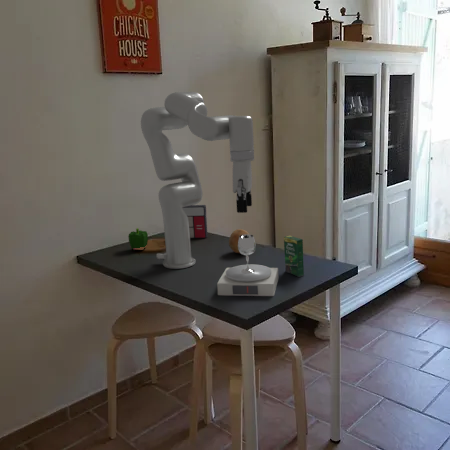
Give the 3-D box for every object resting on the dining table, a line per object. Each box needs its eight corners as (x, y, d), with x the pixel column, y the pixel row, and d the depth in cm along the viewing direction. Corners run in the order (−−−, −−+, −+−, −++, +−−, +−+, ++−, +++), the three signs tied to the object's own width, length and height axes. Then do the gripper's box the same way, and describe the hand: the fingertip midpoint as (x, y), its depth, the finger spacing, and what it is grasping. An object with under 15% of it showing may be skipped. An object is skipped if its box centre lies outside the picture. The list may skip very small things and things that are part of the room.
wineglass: (251, 275, 166) (249, 239, 163) (236, 272, 169) (234, 237, 166) (259, 269, 171) (258, 234, 168) (244, 267, 174) (243, 233, 171)
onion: (258, 252, 209) (257, 229, 207) (238, 258, 204) (237, 233, 201) (244, 248, 217) (243, 225, 214) (224, 253, 211) (223, 229, 209)
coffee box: (284, 271, 185) (283, 236, 182) (290, 269, 186) (289, 234, 183) (297, 277, 178) (296, 240, 175) (304, 275, 179) (303, 239, 176)
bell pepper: (133, 247, 229) (130, 225, 226) (151, 246, 227) (148, 225, 225) (127, 252, 221) (124, 230, 218) (145, 252, 219) (143, 229, 217)
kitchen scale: (217, 295, 165) (216, 279, 164) (227, 278, 181) (226, 263, 179) (273, 296, 161) (273, 280, 160) (278, 278, 177) (277, 263, 176)
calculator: (182, 239, 238) (180, 207, 234) (185, 236, 242) (182, 205, 238) (206, 238, 236) (204, 206, 232) (208, 236, 240) (205, 204, 236)
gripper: (235, 153, 171) (237, 203, 175) (225, 159, 154) (228, 215, 158) (257, 152, 169) (259, 203, 173) (249, 158, 153) (252, 215, 157)
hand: (244, 209), depth 166 cm, fingers open, 9 cm apart
